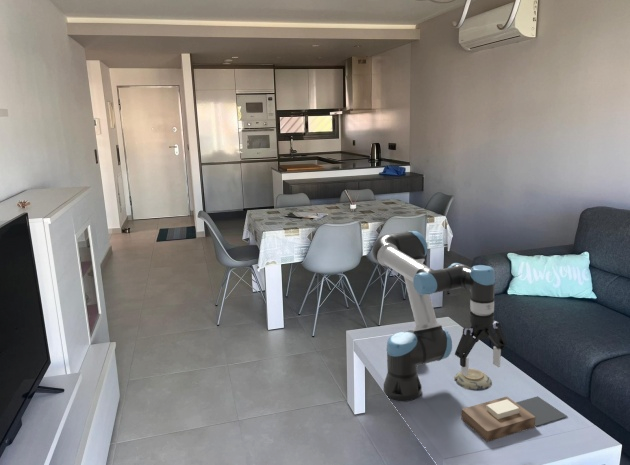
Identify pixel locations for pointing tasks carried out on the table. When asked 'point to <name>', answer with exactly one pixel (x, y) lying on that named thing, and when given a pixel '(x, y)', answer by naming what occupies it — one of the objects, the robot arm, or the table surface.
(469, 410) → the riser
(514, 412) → the tile
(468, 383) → the decorative bowl
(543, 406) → the mat
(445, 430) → the table surface
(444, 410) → the table surface
